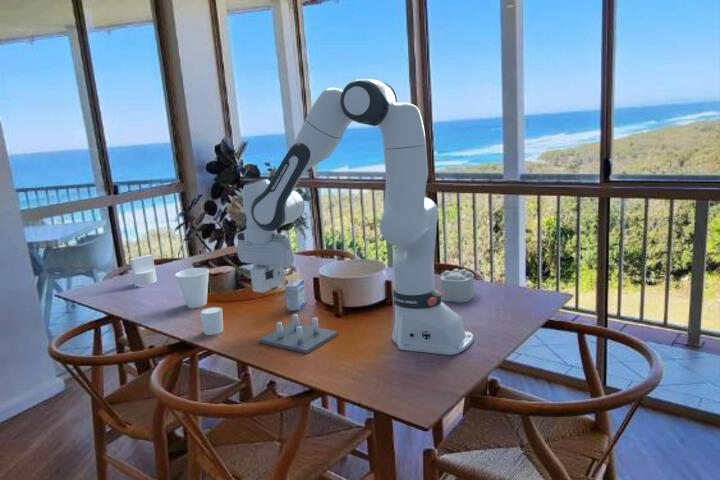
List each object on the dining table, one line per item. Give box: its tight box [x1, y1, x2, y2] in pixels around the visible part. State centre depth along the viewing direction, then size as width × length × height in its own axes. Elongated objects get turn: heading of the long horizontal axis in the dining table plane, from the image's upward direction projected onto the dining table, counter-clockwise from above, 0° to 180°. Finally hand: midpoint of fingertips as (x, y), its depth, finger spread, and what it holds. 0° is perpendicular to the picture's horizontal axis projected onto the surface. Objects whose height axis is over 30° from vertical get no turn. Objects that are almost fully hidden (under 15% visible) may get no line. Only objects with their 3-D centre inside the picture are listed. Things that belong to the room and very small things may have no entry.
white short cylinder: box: [199, 306, 224, 336], centre depth 162 cm, size 7×7×7 cm
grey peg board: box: [258, 313, 339, 355], centre depth 152 cm, size 18×14×6 cm
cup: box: [174, 267, 210, 309], centre depth 189 cm, size 12×12×12 cm
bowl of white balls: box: [439, 268, 475, 303], centre depth 177 cm, size 10×13×9 cm
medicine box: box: [284, 279, 307, 312], centre depth 179 cm, size 8×4×9 cm, turn 168°
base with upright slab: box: [129, 254, 158, 286], centre depth 221 cm, size 9×9×12 cm
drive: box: [249, 264, 286, 293], centre depth 160 cm, size 4×10×7 cm, turn 145°
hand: (268, 277), depth 160 cm, fingers closed on drive, 4 cm apart
